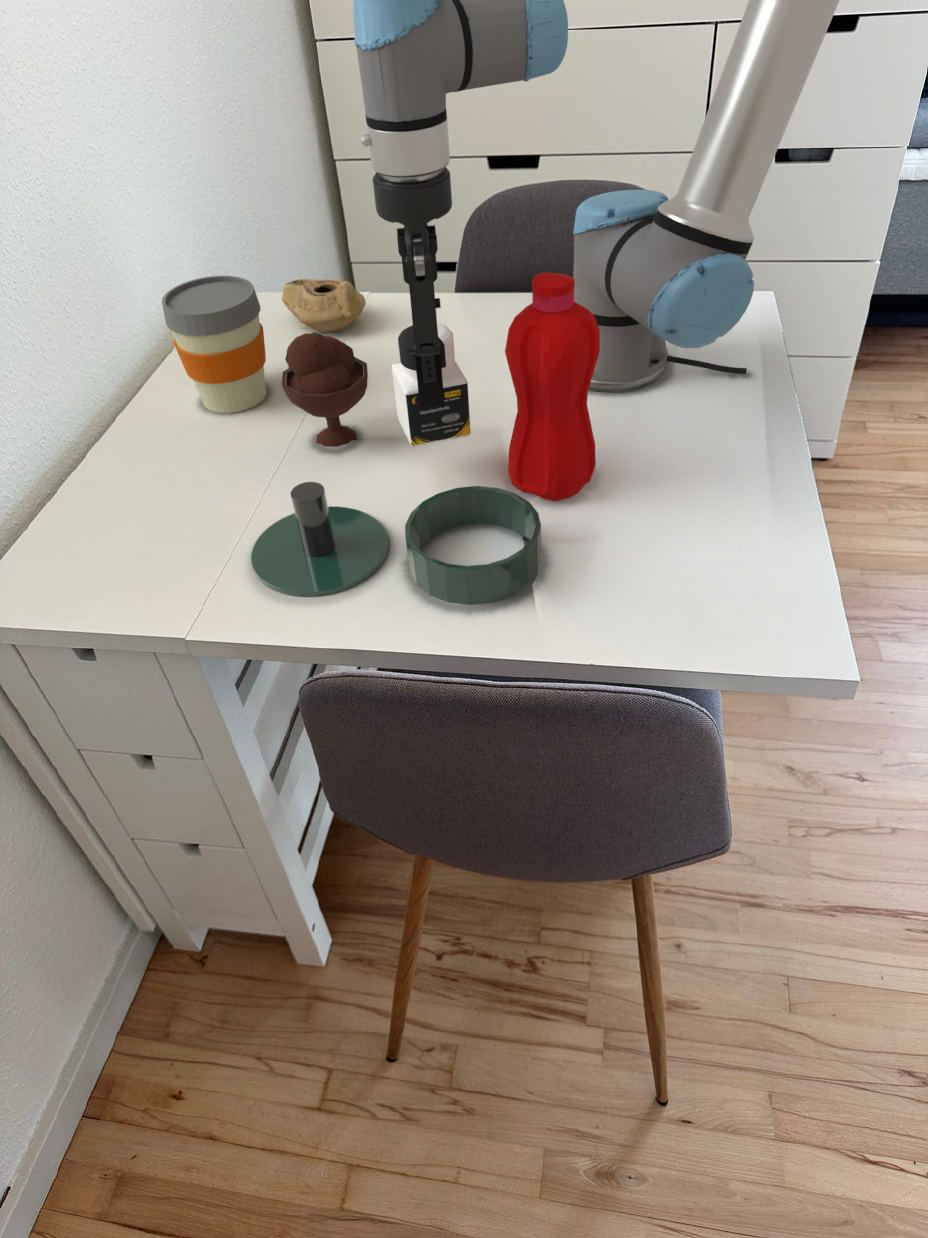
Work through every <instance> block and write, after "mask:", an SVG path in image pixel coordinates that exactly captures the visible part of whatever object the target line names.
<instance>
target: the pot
mask: <svg viewBox="0 0 928 1238" xmlns="http://www.w3.org/2000/svg"><path fill="white" fill-rule="evenodd" d="M475 524H481V525H482V524H483V525H492V526H499V527H501V528H504V529H507V530H511V531H513V532H514V533H516V534H517V535H519V536H520V537H522V541H523V542H522V543H523V547H522V548H521V549H520V550H518V551H517V552H515V553H513V554H511V555H509V556H508V557H506V558H502V559H500V560H496V561H494V562H490V563H485V564H475V565H463V564H453V563H447V562H444V561H441V560H438V559H436V558H433V557H430V556H429V555H428V554H426V553H425V552H423V551H422V550H421V548H422V547H423V546H424V545H425V544H426V543H427V542H428V541H429V540H430V539H431V538H432V537H434V536H436V535H438V534H440V533H442V532H443V531H446V530H449V529H452V528H456V527H459V526H465V525H475ZM404 533H405V534H404V535H405V544H406V551H407V560H408V561H407V562H408V567H409V568H408V569H409V573H410V576H411V577H412V579H413V580H414V581H413V582H415V584H416V586H417V587H419V588H420V589H421V590H423V591H424V592H425V593H427V594H428V595H430V597H433V598H435V599H439V600H440V601H441V600H442V601H443V602H447V603H451V604H459V605H469V606H473V605H484V604H493V603H495V602H498V601H502V600H504V599H508V598H511V597H513V596H515V595H516V594H518V593H519V592H521V591H523V590H524V589H526V588H527V587H528V586H529V585H530V584H531V585H533V584H534V583H535V581H536V579H537V577H538V576H539V574H540V570H541V565H542V523H541V519H540V513H539V512H538V511H537V510H536V508H535V507H534V506H533V504H531V502H530V501H529V500H527V499H525V498H524V497H522V496H521V495H519V494H517V493H515V492H514V491H513V492H512V491H509V490H506V489H502V488H500V487H495V486H494V487H493V486H482V485H471V486H460V487H456V488H451V489H449V490H444V491H441V492H438V493H436V494H434V495H432V496H430V497H428V498H426V499H425V500H423V501H422V502H420V503H419V505H417V506H416V507H415V508H414V509H413V510H412V511H411V512H410V513H409V516H408V518H407V521H406V522H405V525H404Z"/></svg>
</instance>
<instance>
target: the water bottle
mask: <svg viewBox="0 0 928 1238" xmlns="http://www.w3.org/2000/svg"><path fill="white" fill-rule="evenodd" d="M574 287H575V279H574V278H573V276H571V275H568V274H564V273H559V272H540V273H537V274H536V275H534V276H533V278H532V280H531V289H532V292H531V294H532V296H531V297H532V298H531V299H532V302H531V303H530V304H528V305H527V306H525V307H524V308H523V309H522V310H521V311H519V313H517V315H515V316H514V317H513V319H512V321H511V324H510V325H509V327H508V330H507V335H506V336H507V338H506V341H505V348H504V354H505V358H506V361H507V366H508V369H509V373H510V378H511V381H512V385H513V388H514V393H515V397H516V407H517V410H516V411H517V412H516V416H515V420H514V425H513V429H512V434H511V438H510V441H509V447H508V455H507V456H508V461H507V472H508V476H509V479H510V482H511V485H512V486H513V487H514V488H516V489H518V490H519V491H521V492H522V493H525V494H530V495H535V496H536V497H539V498H541V499H542V500H547V501H550V502H551V501H552V502H558V501H563V500H568V499H571V498H572V497H574V496H575V495H577V494H579V493H580V492H581V491H582V489H584V487H585V485H587V484H588V483H589V482H591V479H592V476H593V474H594V471H595V468H596V465H597V464H596V463H597V461H596V460H597V459H596V458H597V457H596V442H595V437H594V432H593V427H592V422H591V416H590V412H589V408H588V407H589V406H588V395H589V394H588V393H589V390H590V389H589V387H590V383H591V380H592V376H593V373H594V369H595V366H596V363H597V359H598V356H599V352H600V329H599V327H598V324H597V322H596V319H595V317H594V315H593V314H592V313H591V312H590V311H589V310H588V309H587V308H585V307H583V306H581V305H580V304H578V303H576V302H574Z"/></svg>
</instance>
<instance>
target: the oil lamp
mask: <svg viewBox="0 0 928 1238" xmlns="http://www.w3.org/2000/svg"><path fill="white" fill-rule="evenodd" d="M281 301H282V303H283V305H284V307H286V308H287V309H288V311H290V313H291V314H292V315H293V316H294V317H296V319H297V320H298V321H299V322H300V323H301V324H303V325H305V326H307V327H308V328H310V329H312V330H314V331H316V332H319V333H331V332H336V331H341V330H344V329H346V328H347V327H349V326H350V325H351V323H352V322H353V321H355V319H357V318H358V317H359V316H360V315H361V313H362V312H363V310H364V308H365V307H366V303H367V302H366V298H365V296H364V295H363V294H362V293H360V292H359V291H358V290H357V289H355V287H354V285H353V284H352V283H351V281H348V280H344V281H342V280H338V279H314V278H304V279H303V278H299V279H295V280H291V281H289V282H287V283H285V284H284V285H283V292H282V297H281Z"/></svg>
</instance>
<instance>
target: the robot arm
mask: <svg viewBox="0 0 928 1238" xmlns="http://www.w3.org/2000/svg"><path fill="white" fill-rule="evenodd" d="M839 2H840V0H748V2H747V3H746V4H747V5H746V7H745V10H744V12H743V15H742V17H741V21H740V24H739V26H738V29H737V32H736V35H735V37H734V40H733V41H732V42H733V43H732V45H731V48H730V50H729V53H728V56H727V59H726V61H725V64H724V66H723V70H722V72H721V75H720V76H719V77H720V78H719V79H718V82H717V86H716V88H715V92H714V93H713V97H712V99H711V102H710V104H709V106H708V110H707V112H706V115H705V118H704V120H703V123H702V126H701V129H700V132H699V134H698V138H697V140H696V142H695V144H694V148H693V150H692V153H691V156H690V158H689V161H688V164H687V166H686V169H685V172H684V175H683V178H682V180H681V183H680V186H679V188H678V191H677V193H676V194H675V195H674V196H673V197H672V198H670V199H669V198H668V196H667V195H666V194H665V193H663V192H660V191H658V190H657V191H656V190H651V189H624V190H615V191H609V192H604V193H600V194H597V195H593V196H591V197H588V198H586V199H585V200H583V201H582V202H581V203H580V204H579V205H578V207H577V209H576V211H575V217H574V223H573V224H574V226H573V231H572V235H573V276H572V277H573V278H574V279H575V287H574V302H576V303H578V304H580V305H581V306H583V307H585V308H587V309H588V310H589V311H590V312H591V313H592V314H593V315H594V317H595V319H596V322H597V324H598V327H599V329H600V352H599V356H598V359H597V363H596V366H595V369H594V373H593V376H592V380H591V383H590V387H589V390H591V391H596V392H607V393H617V392H618V393H619V392H620V393H621V392H629V391H635V390H639V389H642V388H645V387H649V386H650V385H652V384H653V385H654V383H656V382H658V381H659V380H660V379H661V378H662V377H663V376H665V374H666V372H667V369H668V363H674V364H680V365H685V366H690V367H691V366H692V367H697V368H702V369H707V370H712V371H717V372H721V373H726V374H727V373H728V374H735V375H747V372H748V371H747V370H748V369H747V367H735V366H726V365H722V364H715V363H712V362H706V361H702V360H696V359H690V358H685V357H680V356H673V355H669V354H668V353H669V352H668V347H667V343H666V342H668V343H670V344H671V345H672V346H674V347H677V348H681V349H689V350H690V349H691V350H692V349H700V348H702V347H706V346H709V345H710V344H713V343H715V341H716V340H717V339H719V338H722V337H724V336H725V335H726V334H728V333H729V332H730V331H731V330H733V328H734V327H735V326H736V325H737V324H738V323H739V321H740V320H741V319H742V318H743V316H744V314H745V313H746V311H747V309H748V307H749V305H750V303H751V300H752V298H753V295H754V290H755V281H754V280H753V278H754V274H753V271H752V269H751V266H750V265H749V263H748V262H747V257H748V254H749V253H750V250H751V248H752V245H753V243H754V240H755V236H754V233H753V231H752V230H753V229H752V228H751V226H750V225H751V224H750V219H749V218H750V216H751V214H752V212H753V209H754V206H755V204H756V201H757V199H758V197H759V195H760V192H761V190H762V187H763V184H764V183H765V180H766V178H767V175H768V173H769V171H770V169H771V165H772V163H773V160H774V158H775V156H776V154H777V152H778V148H779V146H780V145H781V142H782V139H783V137H784V135H785V132H786V130H787V127H788V124H789V122H790V120H791V118H792V115H793V113H794V110H795V108H796V106H797V103H798V102H799V98H800V96H801V94H802V91H803V89H804V87H805V84H806V83H807V79H808V77H809V74H810V72H811V70H812V67H813V65H814V62H815V60H816V57H817V55H818V53H819V51H820V48H821V45H822V43H823V42H824V39H825V37H826V34H827V31H828V29H829V27H830V24H831V22H832V19H833V17H834V15H835V12H836V10H837V8H838V5H839ZM352 15H353V27H354V41H353V42H354V47H356V54H357V61H358V69H359V77H360V85H361V90H362V98H363V105H364V115H365V122H366V131H367V134H364V135H361V145H363V146H364V147H370V149H369V156H370V157H369V158H370V165H371V170H373V171H374V172H375V173H374V175H373V177H372V186H373V193H374V194H373V195H374V204H375V211H376V214H377V215H378V216H379V217H380V218H381V219H382V220H384V221H386V222H389V223H393V224H395V223H397V224H400V225H403V227H398V228H396V235H397V238H396V240H397V250H398V255H399V256H400V257H401V264H402V277H403V281H404V283H406V284H407V285H408V287H409V290H408V291H409V298H410V309H411V319H412V320H411V321H412V325H413V330H414V341H415V345H414V348H408V353H409V354H415V363H416V373H417V383H418V393H419V403H420V407H425V406H437V405H445V404H444V392H443V379H442V367H441V355H440V350H441V347H440V343H439V340H438V328H437V324H438V317H437V309H441V308H442V307H441V298H440V297H436V294H435V293H436V292H435V282H436V281H437V279H438V265H437V264H438V263H437V252H438V249H439V248H438V237H437V236H438V235H437V231H436V230H437V229H436V224H434V225H433V224H431V225H429V223H430V222H432V221H433V220H439V219H441V218H442V217H444V216H446V215H447V214H448V213H449V212H450V211H451V209H452V207H453V196H452V195H453V194H452V181H451V172H450V170H449V169H448V168H447V166H448V165H449V164H450V162H451V156H450V153H451V152H450V141H449V140H450V139H449V124H448V115H447V112H448V111H447V94H450V93H458V92H463V91H469V90H473V89H480V88H485V87H492V86H498V85H504V84H511V83H516V82H522V81H523V82H524V83H526V82H529V81H530V80H532V79H535V78H539V77H543V76H546V75H550V74H552V73H555V71H556V70H558V68H559V67H560V66H561V64H562V63H563V60H564V58H565V56H566V52H567V48H568V42H569V17H568V12H567V7H566V4H565V1H564V0H352Z"/></svg>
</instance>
